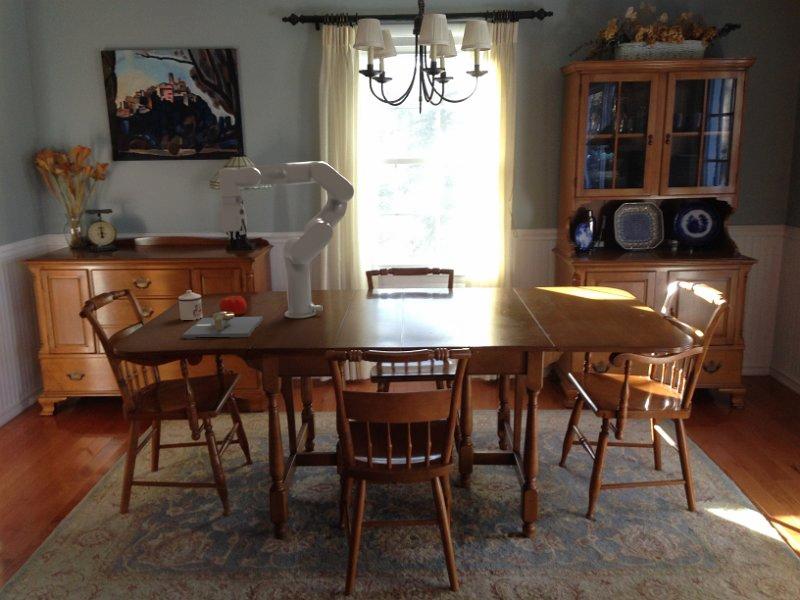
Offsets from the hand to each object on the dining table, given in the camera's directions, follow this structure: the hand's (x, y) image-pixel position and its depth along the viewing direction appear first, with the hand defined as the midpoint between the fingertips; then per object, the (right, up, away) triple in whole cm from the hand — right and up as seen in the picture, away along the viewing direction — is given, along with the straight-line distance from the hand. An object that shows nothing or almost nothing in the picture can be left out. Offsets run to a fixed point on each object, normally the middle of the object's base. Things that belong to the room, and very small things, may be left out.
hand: (235, 249), depth 260 cm
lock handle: (-3, -29, -7) cm, 30 cm away
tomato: (-5, -26, +18) cm, 32 cm away
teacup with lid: (-21, -27, +16) cm, 38 cm away
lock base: (-3, -31, -3) cm, 31 cm away
